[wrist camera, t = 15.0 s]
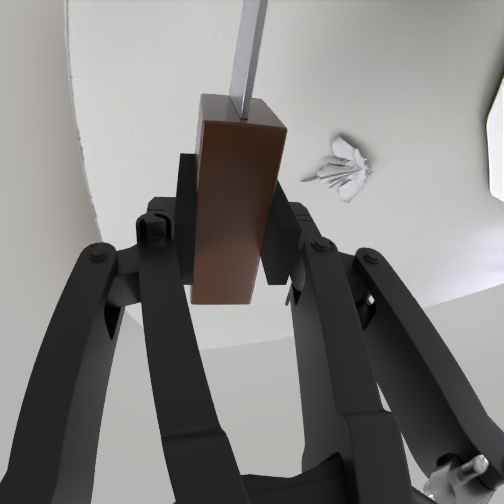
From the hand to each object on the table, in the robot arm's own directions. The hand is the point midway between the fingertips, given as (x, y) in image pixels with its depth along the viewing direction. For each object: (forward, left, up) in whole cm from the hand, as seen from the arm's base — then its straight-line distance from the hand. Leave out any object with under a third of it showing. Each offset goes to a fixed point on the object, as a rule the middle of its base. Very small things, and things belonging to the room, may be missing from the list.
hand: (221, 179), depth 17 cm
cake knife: (0, +8, 0) cm, 8 cm away
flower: (+13, -4, -13) cm, 19 cm away
